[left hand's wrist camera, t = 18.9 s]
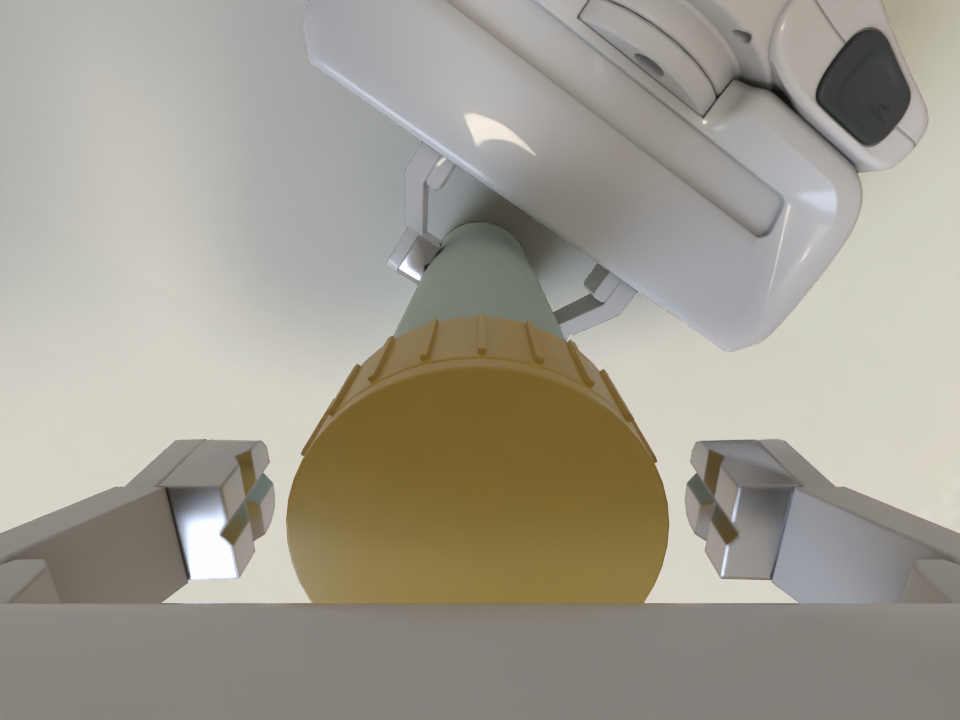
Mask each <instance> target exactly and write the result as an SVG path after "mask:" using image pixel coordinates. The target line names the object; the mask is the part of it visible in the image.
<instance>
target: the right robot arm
mask: <svg viewBox="0 0 960 720" xmlns="http://www.w3.org/2000/svg"><path fill="white" fill-rule="evenodd" d="M302 27H303V33H304V39H305V44H306V50H307V54H308V59H309V60H310V62H311V63H312V65H314V66H315V67H316V68H318V69H319V70H321V71H322V72H324V73H325V74H326V75H328V76H329V77H331V78H332V79H334V80H335V81H337V82H338V83H339V84H341V85H342V86H344V87H345V88H347V89H348V90H349V91H351V92H352V93H354V94H355V95H357V96H358V97H360V98H361V99H362V100H364V101H365V102H367V103H368V104H370V105H371V106H372V107H374V108H375V109H377V110H378V111H380V112H381V113H383V114H384V115H385V116H387V117H388V118H390V119H391V120H393V121H394V122H395V123H397V124H398V125H400V126H401V127H403V128H404V129H406V130H407V131H408V132H410V133H411V134H413V135H414V136H416V137H417V138H418V139H420V140H421V141H422V142H421V144H420V146H419V147H418V149H417V151H416V152H415V154H414V156H413V158H412V159H411V161H410V163H409V165H408V166H407V168H406V170H405V225H406V226H407V227H408V228H407V229H406V231H405V233H404V234H403V236H402V238H401V239H400V241H399V243H398V244H397V246H396V248H395V249H394V251H393V253H392V254H391V256H390V258H389V259H388V261H387V264H386V265H387V266H388V267H390V268H391V269H393V270H394V271H396V272H398V273H399V274H401V275H403V276H404V277H406V278H408V279H409V280H411V281H413V282H414V283H416V284H417V285H418V283H419V282H420V280H421V279H422V277H423V275H424V273H425V271H426V269H427V267H428V265H429V264H430V263H431V262H432V261H433V260H434V258H435V256H436V255H437V253H438V251H439V250H440V248H441V246H442V244H443V242H442V241H440V240H439V239H437V238H436V237H435V236H433V235H432V234H430V233H429V232H427V218H428V191H429V186H430V187H432V188H434V189H435V190H437V189H440V188H442V187H443V186H444V184H445V183H446V181H447V180H448V178H449V176H450V175H451V173H452V171H453V170H454V168H455V167H456V165H457V166H459V167H460V168H462V169H463V170H465V171H466V172H467V173H469V174H470V175H472V176H473V177H475V178H476V179H477V180H479V181H480V182H482V183H483V184H485V185H486V186H488V187H489V188H490V189H492V190H493V191H495V192H496V193H498V194H499V195H500V196H502V197H503V198H505V199H506V200H508V201H509V202H511V203H512V204H513V205H515V206H516V207H518V208H519V209H521V210H522V211H523V212H525V213H526V214H528V215H529V216H531V217H532V218H534V219H535V220H536V221H538V222H539V223H541V224H542V225H544V226H545V227H546V228H548V229H549V230H551V231H552V232H554V233H555V234H557V235H558V236H559V237H561V238H562V239H564V240H565V241H567V242H568V243H570V244H571V245H572V246H574V247H575V248H577V249H578V250H580V251H581V252H582V253H584V254H585V255H587V256H588V257H590V258H591V259H593V260H594V261H595V262H597V265H596V266H595V267H594V269H593V270H592V272H591V273H590V274H589V276H588V277H587V279H586V280H585V281H584V286H585V287H586V288H587V289H588V291H589V292H590V293H591V294H589V295H587V296H585V297H583V298H581V299H579V300H577V301H575V302H573V303H571V304H569V305H567V306H565V307H563V308H561V309H559V310H557V311H555V312H553V314H554V316H555V318H556V320H557V322H558V324H559V326H560V329H561V331H562V333H563V335H564V337H565V339H567V338H568V336H569V335H570V334H572V335H575V334H577V333H579V332H582V331H584V330H586V329H589V328H591V327H593V326H595V325H598V324H600V323H602V322H605V321H607V320H609V319H612V318H614V317H616V316H619V315H620V313H621V312H622V311H623V309H624V308H625V307H626V306H627V304H628V303H629V302H630V301H631V299H632V298H633V297H634V295H635V294H636V293H637V292H638V291H639V292H640V293H641V294H643V295H644V296H646V297H647V298H649V299H650V300H651V301H653V302H654V303H656V304H657V305H659V306H660V307H662V308H663V309H664V310H666V311H667V312H669V313H670V314H672V315H673V316H675V317H676V318H677V319H679V320H680V321H682V322H683V323H685V324H686V325H687V326H689V327H690V328H692V329H693V330H695V331H696V332H698V333H699V334H700V335H702V336H703V337H705V338H706V339H708V340H709V341H710V342H712V343H713V344H715V345H716V346H718V347H719V348H721V349H722V350H724V351H726V352H733V351H737V350H740V349H744V348H747V347H750V346H753V345H756V344H759V343H760V342H762V341H764V340H765V339H766V338H767V337H768V336H770V335H771V334H772V333H773V332H774V331H775V330H776V328H777V327H778V326H779V325H780V324H781V323H782V322H783V321H784V320H785V319H786V318H787V316H788V315H789V314H790V313H791V312H792V311H793V309H794V308H795V307H796V306H797V305H798V304H799V302H800V301H801V300H802V299H803V297H804V296H805V295H806V294H807V293H808V291H809V290H810V289H811V288H812V286H813V285H814V284H815V283H816V281H817V280H818V279H819V278H820V276H821V275H822V274H823V273H824V271H825V270H826V269H827V267H828V266H829V264H830V263H831V262H832V260H833V259H834V258H835V256H836V255H837V253H838V252H839V251H840V249H841V248H842V246H843V245H844V243H845V242H846V240H847V239H848V237H849V235H850V234H851V232H852V230H853V228H854V226H855V224H856V222H857V219H858V217H859V214H860V210H861V206H862V199H863V191H862V184H861V181H860V177H859V175H858V173H860V172H873V171H882V170H887V169H890V168H892V167H894V166H895V165H897V164H898V163H900V162H901V161H902V160H903V159H904V158H905V157H906V156H907V155H908V154H909V153H910V152H911V151H912V150H913V149H914V147H915V146H916V145H917V144H918V143H919V141H920V140H921V139H922V137H923V135H924V134H925V132H926V129H927V126H928V112H927V108H926V105H925V102H924V100H923V98H922V95H921V93H920V91H919V89H918V87H917V85H916V82H915V80H914V78H913V76H912V74H911V72H910V70H909V67H908V65H907V63H906V61H905V59H904V56H903V54H902V52H901V49H900V47H899V45H898V42H897V40H896V38H895V35H894V32H893V30H892V27H891V25H890V22H889V20H888V17H887V14H886V11H885V8H884V5H883V3H882V0H310V1H309V4H308V6H307V8H306V10H305V13H304V15H303V20H302Z"/></svg>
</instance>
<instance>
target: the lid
mask: <svg viewBox="0 0 960 720" xmlns="http://www.w3.org/2000/svg"><path fill="white" fill-rule="evenodd" d="M301 455H303V456H304V458H303V460H302V462H301V464H300V466H299V468H298V471H297V473H296V475H295V477H294V480H293V484H292V488H291V491H290V495H289V499H288V508H287V518H286V524H287V541H288V546H289V551H290V555H291V560H292V563H293V566H294V569H295V571H296V574H297V576H298V579H299V581H300V583H301V585H302V587H303V588H304V590H305V592H306V594H307V596H308V597H309V599H310V600H311V602H312V603H644V601H645V600H646V598H647V596H648V595H649V593H650V591H651V590H652V588H653V586H654V585H655V582H656V580H657V577H658V575H659V573H660V570H661V568H662V565H663V561H664V557H665V553H666V549H667V543H668V532H669V516H668V503H667V499H666V495H665V491H664V486H663V482H662V480H661V478H660V475H659V473H658V470H657V468H656V466H655V462H657V459H656V457H655V455H654V453H653V451H652V450H651V448H650V446H649V445H648V443H647V441H646V440H645V438H644V436H643V434H642V433H641V431H640V429H639V428H638V426H637V424H636V423H635V421H634V418H633V416H632V414H631V413H630V411H629V409H628V408H627V406H626V404H625V403H624V401H623V399H622V398H621V396H620V394H619V392H618V391H617V389H616V387H615V386H614V384H613V382H612V381H611V379H610V377H609V376H608V374H607V372H606V371H605V370H604V369H603V370H601V371H599V370H598V369H597V368H596V366H595V365H594V364H593V363H592V362H591V361H590V360H589V359H588V358H586V357H585V356H584V355H583V354H582V353H581V352H580V351H579V350H578V348H577V346H576V344H575V342H573V341H572V340H569V341H568V343H567V342H566V341H564V340H563V339H561V338H559V337H557V336H555V335H553V334H551V333H549V332H547V331H545V330H543V329H540V328H537V327H534V324H533V322H532V321H528V320H527V321H526V323H523V322H518V321H513V320H508V319H503V318H493V317H485V313H479V317H462V318H454V319H448V320H443V321H437V318H435V319H431V320H430V324H428V325H425V326H421V327H418V328H416V329H414V330H411V331H409V332H407V333H405V334H403V335H401V336H399V337H397V338H394V337H393V336H391V337H389V338H388V339H387V341H386V343H385V345H384V346H383V347H381V348H380V349H379V350H378V351H377V352H375V353H374V354H373V355H372V356H371V357H370V358H368V359H367V360H366V361H365V362H364V363H363V365H362V366H360V365H358V364H356V365H355V367H354V368H353V369H352V371H351V373H350V374H349V376H348V378H347V379H346V381H345V383H344V384H343V386H342V388H341V389H340V391H339V393H338V394H337V396H336V397H335V399H333V401H332V402H331V404H330V406H329V407H328V409H327V411H326V412H325V414H324V416H323V417H322V419H321V420H320V422H319V424H318V425H317V427H316V429H315V430H314V432H313V434H312V435H311V437H310V439H309V440H308V442H307V443H306V445H305V447H304V448H303V450H302V453H301Z"/></svg>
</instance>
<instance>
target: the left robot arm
mask: <svg viewBox="0 0 960 720" xmlns="http://www.w3.org/2000/svg"><path fill="white" fill-rule="evenodd" d="M269 463H270V461H269V456H268V451H267V446H266V445H265V444H264V443H263V442H262V441H250V440H206V439H192V440H176V441H174V442H173V443H172V444H171V445H170V446H169V447H168V448H167V449H166V450H164V451H163V452H162V453H161V454H160V455H159V456H158V457H157V458H156V459H155V460H153V461H152V462H151V463H150V464H149V465H148V466H147V467H146V468H145V469H144V470H142V471H141V472H140V473H139V474H138V475H137V476H136V477H135V478H134V479H133V480H131V481H130V482H129V483H128V484H127V485H126V486H125V487H114V488H111V489H109V490H107V491H104V492H102V493H99V494H97V495H94V496H92V497H89V498H87V499H84V500H82V501H79V502H77V503H74V504H72V505H70V506H67V507H65V508H62V509H60V510H57V511H55V512H52V513H50V514H47V515H45V516H42V517H40V518H37V519H35V520H33V521H30V522H28V523H25V524H23V525H20V526H18V527H15V528H13V529H10V530H8V531H5V532H3V533H0V720H960V534H959V533H957V532H954V531H952V530H949V529H947V528H944V527H942V526H940V525H937V524H935V523H932V522H930V521H927V520H925V519H922V518H920V517H917V516H915V515H912V514H910V513H908V512H905V511H903V510H900V509H898V508H895V507H893V506H890V505H888V504H885V503H883V502H880V501H878V500H876V499H873V498H871V497H868V496H866V495H863V494H861V493H858V492H856V491H853V490H851V489H848V488H846V487H835V486H834V485H833V484H832V483H831V482H830V481H829V480H827V479H826V478H825V477H824V476H823V475H822V474H821V473H820V472H819V471H818V470H817V469H815V468H814V467H813V466H812V465H811V464H810V463H809V462H808V461H807V460H806V459H804V458H803V457H802V456H801V455H800V454H799V453H798V452H797V451H796V450H795V449H793V448H792V447H791V446H790V445H789V444H788V443H787V442H786V441H783V440H780V439H767V440H720V441H699V442H696V443H695V445H694V448H693V450H692V455H691V461H690V463H691V464H692V466H693V467H694V469H695V470H696V472H697V473H696V474H695V475H694V476H693V477H692V478H691V479H690V480H689V481H688V482H687V486H686V494H685V505H686V514H687V517H688V521H689V524H690V526H691V528H692V530H693V531H694V533H695V534H696V535H697V536H699V537H701V538H702V539H704V540H705V541H707V542H706V547H705V552H706V554H707V556H708V558H709V559H710V561H711V563H712V564H713V566H714V568H715V569H716V571H717V573H718V575H719V576H720V578H721V579H750V580H772V583H773V584H775V585H776V586H777V587H779V588H780V589H781V590H783V591H784V592H785V593H787V594H788V595H789V596H791V597H792V598H793V599H795V600H796V601H797V602H799V603H162V602H163V601H164V600H166V599H167V598H168V597H170V596H171V595H172V594H174V593H175V592H176V591H178V590H179V589H180V588H182V587H183V586H184V585H186V584H187V583H188V580H209V579H239V578H240V576H241V575H242V573H243V571H244V570H245V568H246V566H247V564H248V563H249V561H250V559H251V557H252V556H253V554H254V552H255V547H254V542H253V541H255V540H256V539H258V538H259V537H261V536H263V535H264V534H265V533H266V531H267V529H268V528H269V526H270V524H271V521H272V517H273V512H274V508H275V493H274V486H273V482H272V481H271V480H270V479H269V478H268V477H267V476H266V475H265V474H264V473H263V472H264V470H265V469H266V467H267V466H268V464H269Z"/></svg>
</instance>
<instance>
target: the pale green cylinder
mask: <svg viewBox="0 0 960 720" xmlns="http://www.w3.org/2000/svg"><path fill="white" fill-rule="evenodd" d="M442 242H443V244H442V246H441V248H440V250H439V251H438V253H437V255H436V256H435V258H434V260H433V261H432V262H431V263H430V264H429V265H428V267H427V269H426V271H425V273H424V275H423V277H422V279H421V281H420V283H419V285H418V287H417V289H416V291H415V293H414V295H413V297H412V299H411V301H410V303H409V305H408V307H407V309H406V311H405V313H404V315H403V317H402V320H401V322H400V324H399V326H398V328H397V330H396V332H395V334H394V336H393V337H394V338H397V337H399V336H401V335H403V334H405V333H407V332H409V331H411V330H414V329H416V328H418V327H421V326H425V325H428V324H430V320H431V319H435V318H437V321H443V320H448V319H454V318H462V317H479V313H485V317H493V318H503V319H508V320H513V321H518V322H523V323H526V321H527V320H528V321H532V322H533V324H534V327H537V328H540V329H543V330H545V331H547V332H549V333H551V334H553V335H555V336H557V337H559V338H561V339H563V340H564V341H566V339H565V337H564V335H563V333H562V331H561V329H560V326H559V324H558V322H557V320H556V318H555V316H554V314H553V312H552V310H551V307H550V305H549V303H548V301H547V299H546V297H545V295H544V293H543V291H542V288H541V286H540V284H539V282H538V280H537V278H536V276H535V274H534V272H533V269H532V267H531V265H530V263H529V261H528V259H527V257H526V255H525V253H524V251H523V249H522V247H521V245H520V243H519V242H518V241H517V239H516V238H515V237H514V236H513V235H512V234H511V233H509V232H508V231H507V230H505V229H503V228H502V227H499V226H497V225H494V224H491V223H485V222H474V223H468V224H464V225H462V226H459V227H457V228H456V229H454V230H452V231H451V232H450V233H448V234H447V235H446V236H445V237H444V238H443V239H442ZM566 342H567V341H566Z"/></svg>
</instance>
